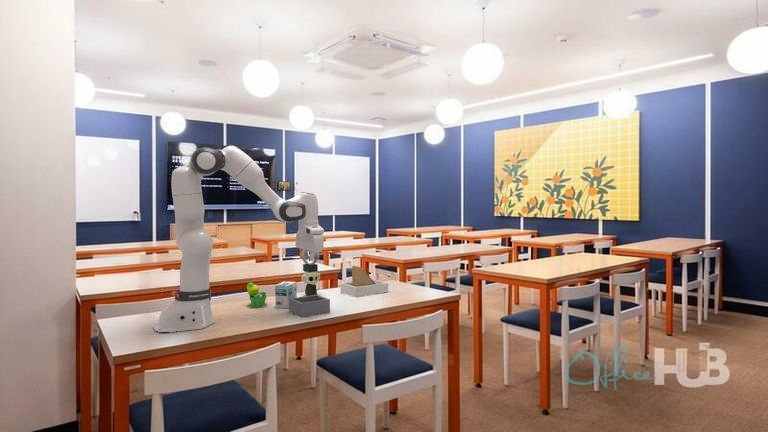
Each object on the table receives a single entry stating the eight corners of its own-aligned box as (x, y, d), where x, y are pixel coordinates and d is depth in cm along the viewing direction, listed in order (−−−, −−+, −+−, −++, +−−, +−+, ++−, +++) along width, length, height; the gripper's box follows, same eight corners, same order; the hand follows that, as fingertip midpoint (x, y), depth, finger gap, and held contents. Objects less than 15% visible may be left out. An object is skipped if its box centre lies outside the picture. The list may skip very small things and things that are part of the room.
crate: (301, 317, 197) (301, 303, 197) (289, 311, 207) (289, 298, 206) (329, 312, 205) (329, 299, 205) (317, 307, 215) (316, 294, 215)
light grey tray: (355, 297, 237) (355, 287, 237) (340, 292, 249) (340, 283, 249) (388, 292, 249) (388, 283, 249) (372, 287, 261) (372, 279, 261)
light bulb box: (288, 308, 213) (288, 285, 212) (274, 308, 214) (274, 285, 214) (297, 303, 223) (297, 281, 223) (284, 302, 225) (284, 281, 224)
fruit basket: (266, 307, 215) (266, 283, 215) (246, 308, 213) (246, 284, 212) (265, 302, 226) (265, 279, 226) (247, 303, 224) (246, 280, 223)
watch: (321, 271, 206) (321, 246, 205) (305, 273, 201) (305, 248, 201) (315, 269, 210) (314, 245, 210) (299, 271, 205) (299, 246, 205)
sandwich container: (384, 292, 251) (384, 264, 250) (361, 295, 241) (360, 267, 241) (375, 289, 258) (375, 262, 257) (352, 293, 248) (351, 265, 248)
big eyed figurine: (305, 298, 235) (305, 272, 234) (298, 295, 240) (298, 271, 240) (323, 295, 242) (323, 270, 241) (316, 293, 247) (316, 269, 247)
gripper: (291, 228, 211) (292, 258, 211) (312, 230, 194) (313, 263, 195) (304, 227, 215) (304, 256, 215) (326, 229, 198) (326, 261, 199)
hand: (309, 259), depth 205 cm, fingers closed on watch, 3 cm apart
